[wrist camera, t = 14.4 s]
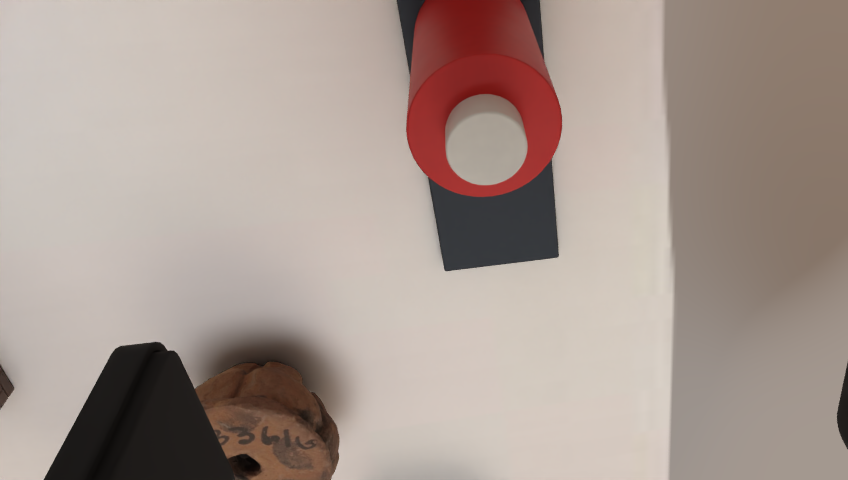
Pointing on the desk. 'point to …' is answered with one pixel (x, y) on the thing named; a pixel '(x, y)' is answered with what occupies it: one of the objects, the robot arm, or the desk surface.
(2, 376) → the chest
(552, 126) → the sauce bottle
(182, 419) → the robot arm
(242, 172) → the desk surface
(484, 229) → the mat
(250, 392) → the artifact
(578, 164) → the desk surface
